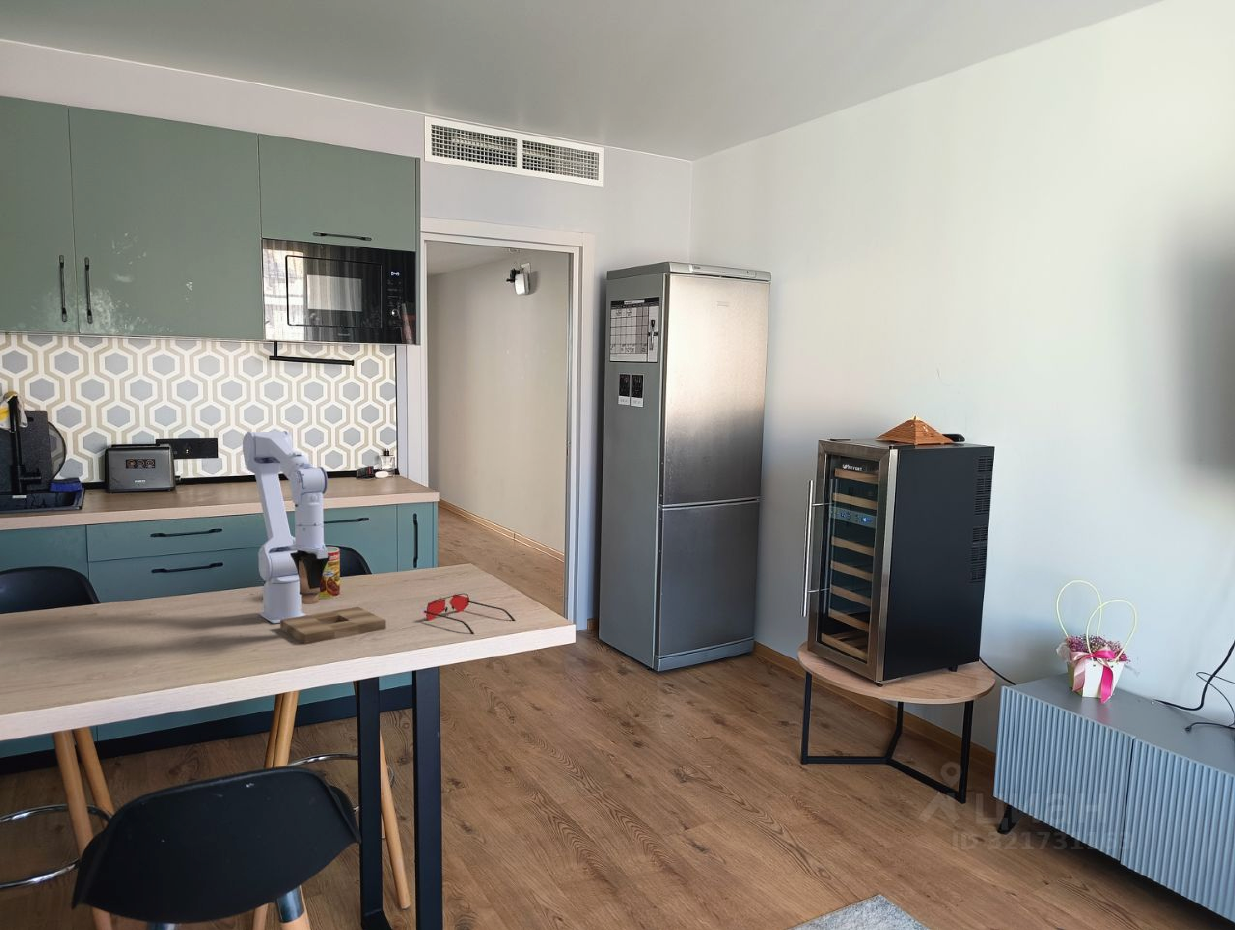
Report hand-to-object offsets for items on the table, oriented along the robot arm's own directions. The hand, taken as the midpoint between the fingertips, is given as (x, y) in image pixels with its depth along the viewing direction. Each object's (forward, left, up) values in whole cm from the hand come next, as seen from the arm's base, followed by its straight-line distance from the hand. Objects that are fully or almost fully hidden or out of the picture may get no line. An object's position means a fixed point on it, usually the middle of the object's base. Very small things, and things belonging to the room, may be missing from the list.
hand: (310, 586), depth 177 cm
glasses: (+13, +32, -11) cm, 36 cm away
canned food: (-29, +15, -11) cm, 35 cm away
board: (0, +5, -10) cm, 12 cm away
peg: (0, 0, -4) cm, 4 cm away
